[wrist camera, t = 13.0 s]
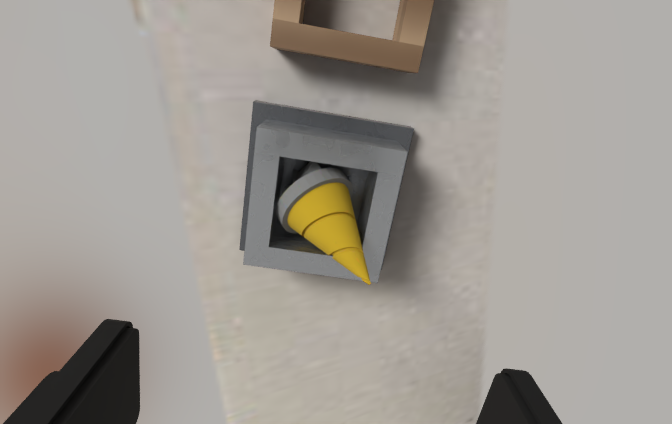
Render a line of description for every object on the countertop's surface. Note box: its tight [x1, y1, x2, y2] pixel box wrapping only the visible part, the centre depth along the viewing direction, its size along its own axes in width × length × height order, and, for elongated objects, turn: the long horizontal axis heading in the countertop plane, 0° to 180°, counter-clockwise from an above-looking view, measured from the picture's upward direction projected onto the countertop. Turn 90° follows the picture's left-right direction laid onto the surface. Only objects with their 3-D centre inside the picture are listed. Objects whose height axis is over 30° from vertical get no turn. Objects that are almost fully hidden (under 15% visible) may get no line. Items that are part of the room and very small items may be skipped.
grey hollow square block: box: [240, 101, 414, 283], centre depth 27 cm, size 11×11×5 cm
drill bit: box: [276, 161, 371, 285], centre depth 25 cm, size 5×5×10 cm
